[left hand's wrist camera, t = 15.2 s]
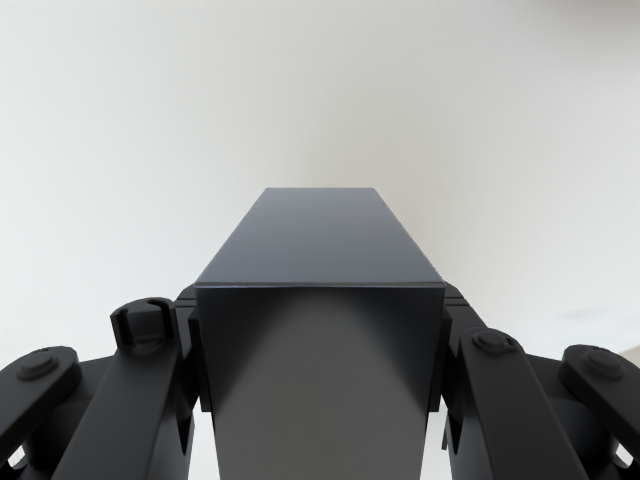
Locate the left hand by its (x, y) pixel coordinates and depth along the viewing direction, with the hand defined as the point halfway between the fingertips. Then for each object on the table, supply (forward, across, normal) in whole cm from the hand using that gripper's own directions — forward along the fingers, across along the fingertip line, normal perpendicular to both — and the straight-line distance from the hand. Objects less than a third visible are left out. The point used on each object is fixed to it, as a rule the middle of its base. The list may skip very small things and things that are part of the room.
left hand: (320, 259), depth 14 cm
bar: (+1, 0, -11) cm, 11 cm away
